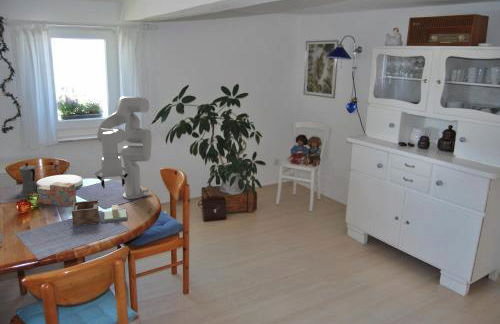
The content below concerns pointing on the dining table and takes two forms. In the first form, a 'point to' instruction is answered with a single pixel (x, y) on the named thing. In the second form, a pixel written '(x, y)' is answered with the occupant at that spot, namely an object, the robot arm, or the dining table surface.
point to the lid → (115, 214)
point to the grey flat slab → (111, 220)
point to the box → (85, 212)
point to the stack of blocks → (57, 194)
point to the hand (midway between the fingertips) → (113, 186)
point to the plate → (60, 180)
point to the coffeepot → (28, 178)
